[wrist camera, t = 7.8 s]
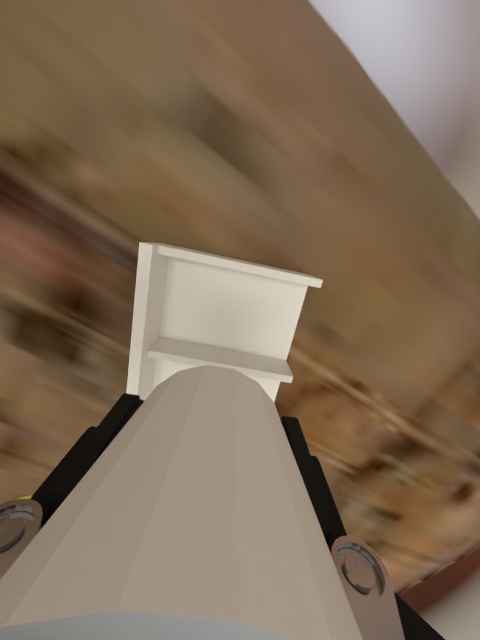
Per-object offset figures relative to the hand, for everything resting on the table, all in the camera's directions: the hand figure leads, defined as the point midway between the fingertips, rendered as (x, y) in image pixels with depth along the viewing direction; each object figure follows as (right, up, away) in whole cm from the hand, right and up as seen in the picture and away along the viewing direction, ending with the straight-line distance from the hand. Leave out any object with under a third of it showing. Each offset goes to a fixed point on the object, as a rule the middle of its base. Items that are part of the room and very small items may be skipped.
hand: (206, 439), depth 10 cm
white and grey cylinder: (0, 0, +1) cm, 1 cm away
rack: (-2, -3, +19) cm, 20 cm away
